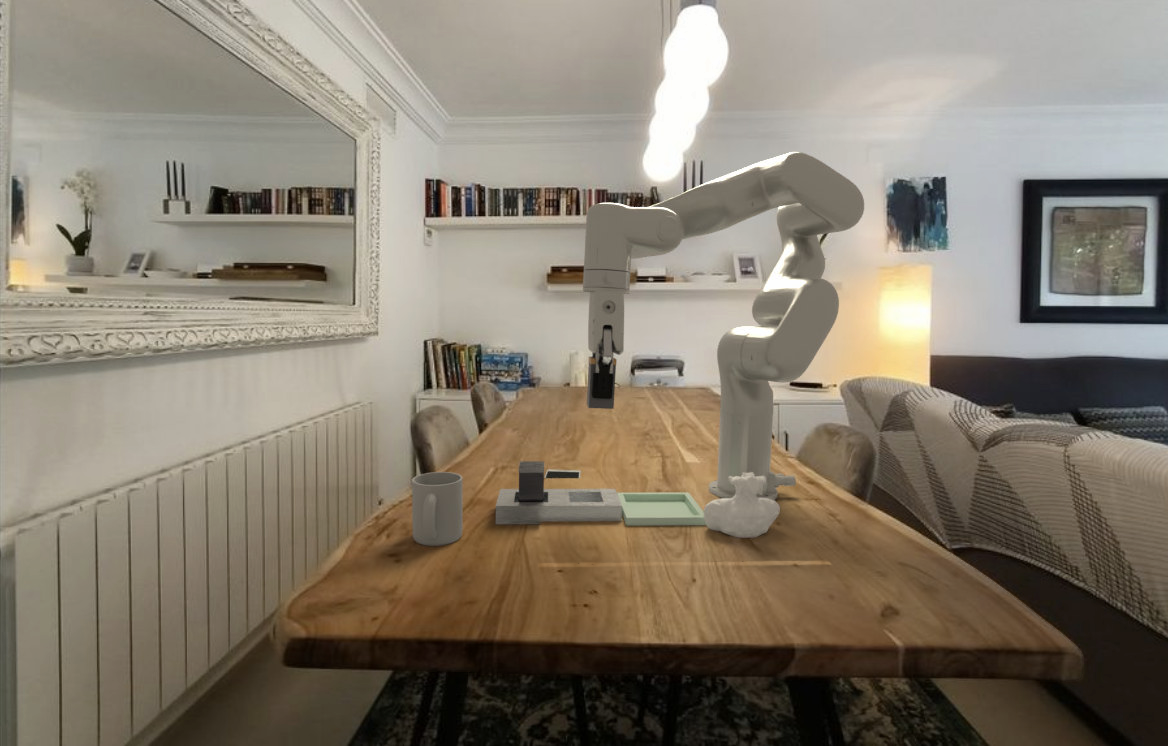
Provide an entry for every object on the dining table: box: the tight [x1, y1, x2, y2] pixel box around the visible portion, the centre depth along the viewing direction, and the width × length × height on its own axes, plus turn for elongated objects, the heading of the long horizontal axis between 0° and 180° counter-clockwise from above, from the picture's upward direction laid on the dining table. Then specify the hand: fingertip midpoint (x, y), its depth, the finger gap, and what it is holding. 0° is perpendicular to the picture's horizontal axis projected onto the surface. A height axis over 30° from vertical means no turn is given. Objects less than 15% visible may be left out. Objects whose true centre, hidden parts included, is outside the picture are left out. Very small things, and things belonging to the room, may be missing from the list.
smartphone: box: [544, 469, 582, 479], centre depth 117 cm, size 7×16×1 cm, turn 178°
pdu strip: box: [495, 460, 623, 525], centre depth 98 cm, size 20×9×8 cm, turn 94°
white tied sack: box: [703, 472, 781, 539], centre depth 90 cm, size 12×8×11 cm
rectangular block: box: [586, 356, 617, 410], centre depth 96 cm, size 4×4×8 cm
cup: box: [411, 471, 464, 547], centre depth 86 cm, size 7×10×9 cm
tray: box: [617, 491, 707, 526], centre depth 99 cm, size 13×13×2 cm
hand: (600, 395), depth 96 cm, fingers closed on rectangular block, 4 cm apart
